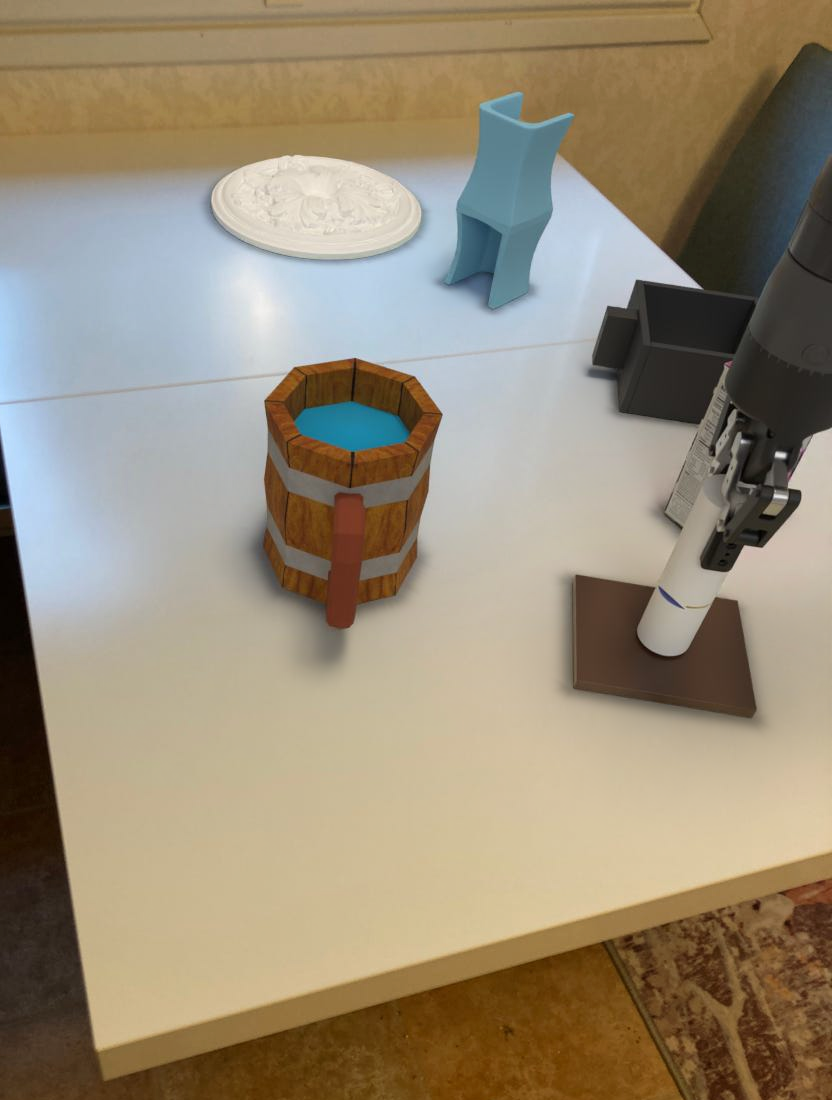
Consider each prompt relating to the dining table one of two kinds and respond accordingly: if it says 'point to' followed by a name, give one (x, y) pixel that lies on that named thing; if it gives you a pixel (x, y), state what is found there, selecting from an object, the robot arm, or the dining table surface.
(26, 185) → the dining table surface
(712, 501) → the tube
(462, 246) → the blue flared stand
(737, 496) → the robot arm
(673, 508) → the candy bar box
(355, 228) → the ceiling medallion
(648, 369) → the dark gray open box
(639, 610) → the cutting board
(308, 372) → the mug
